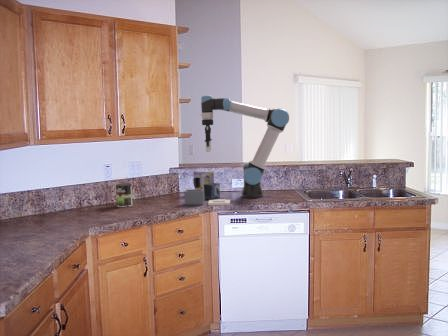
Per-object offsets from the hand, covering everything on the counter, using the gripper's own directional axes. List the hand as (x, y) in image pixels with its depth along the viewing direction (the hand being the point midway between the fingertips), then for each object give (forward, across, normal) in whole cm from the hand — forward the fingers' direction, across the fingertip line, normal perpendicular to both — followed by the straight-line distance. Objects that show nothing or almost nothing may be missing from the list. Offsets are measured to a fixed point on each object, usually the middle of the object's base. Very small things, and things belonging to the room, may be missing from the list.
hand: (208, 151), depth 323 cm
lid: (+34, +13, +6) cm, 37 cm away
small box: (+34, -8, +1) cm, 35 cm away
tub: (+34, +12, -10) cm, 37 cm away
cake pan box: (+34, -26, -5) cm, 43 cm away
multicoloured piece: (+34, +12, -56) cm, 66 cm away
